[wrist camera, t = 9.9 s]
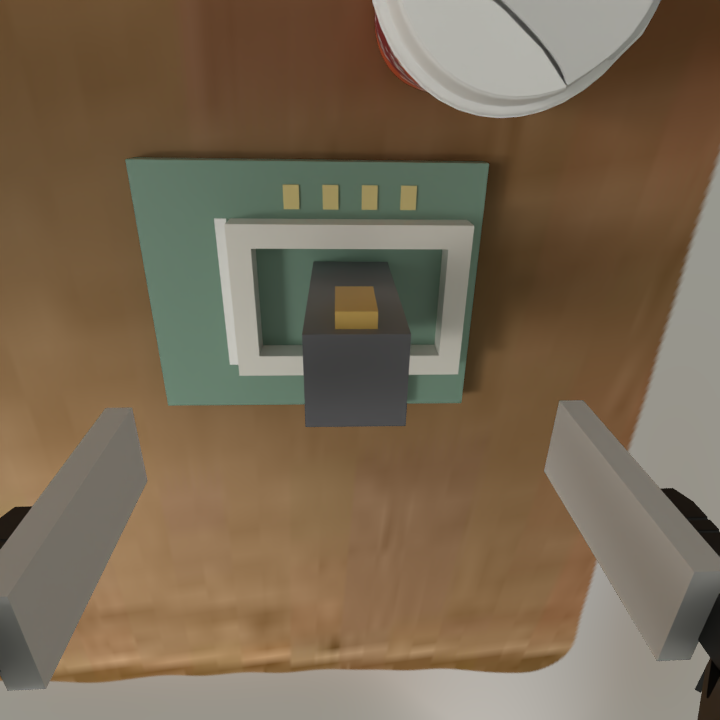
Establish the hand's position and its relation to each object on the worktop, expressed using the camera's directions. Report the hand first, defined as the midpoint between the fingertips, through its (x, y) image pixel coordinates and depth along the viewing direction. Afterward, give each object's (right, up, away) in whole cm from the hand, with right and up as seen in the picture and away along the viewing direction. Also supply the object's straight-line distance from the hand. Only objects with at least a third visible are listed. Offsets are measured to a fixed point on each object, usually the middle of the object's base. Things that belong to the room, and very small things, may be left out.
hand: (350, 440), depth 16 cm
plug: (0, +6, +13) cm, 14 cm away
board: (-2, +7, +14) cm, 15 cm away
